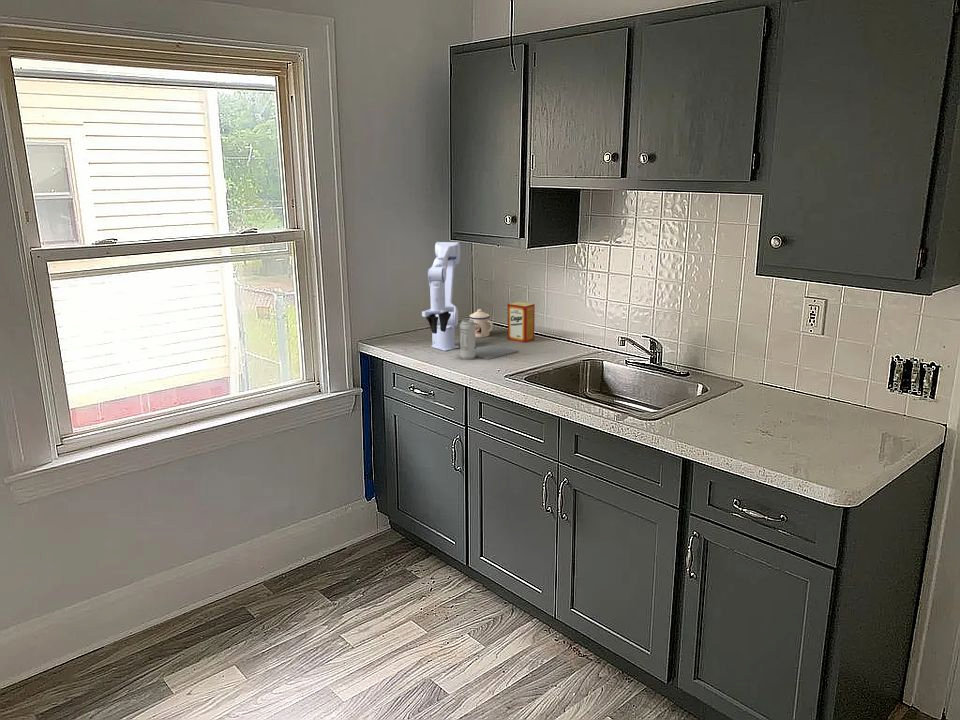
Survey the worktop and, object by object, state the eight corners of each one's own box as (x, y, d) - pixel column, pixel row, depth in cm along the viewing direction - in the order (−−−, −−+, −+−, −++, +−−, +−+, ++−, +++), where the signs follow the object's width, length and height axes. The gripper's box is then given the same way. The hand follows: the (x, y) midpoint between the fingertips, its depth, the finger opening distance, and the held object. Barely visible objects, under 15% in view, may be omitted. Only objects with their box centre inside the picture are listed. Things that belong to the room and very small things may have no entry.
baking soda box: (507, 339, 321) (507, 303, 316) (516, 336, 326) (516, 300, 321) (525, 342, 315) (525, 305, 311) (534, 339, 320) (534, 303, 315)
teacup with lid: (465, 335, 328) (464, 309, 325) (478, 331, 335) (478, 306, 332) (486, 339, 321) (486, 313, 318) (499, 335, 327) (499, 309, 324)
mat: (462, 352, 300) (462, 351, 300) (492, 345, 311) (492, 344, 311) (487, 359, 289) (487, 358, 289) (518, 351, 300) (518, 350, 300)
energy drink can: (478, 358, 291) (477, 321, 287) (465, 360, 289) (464, 323, 285) (470, 355, 296) (470, 318, 292) (457, 357, 294) (456, 320, 290)
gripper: (429, 301, 279) (430, 337, 283) (458, 296, 288) (459, 330, 292) (418, 299, 284) (419, 333, 288) (447, 294, 293) (447, 327, 297)
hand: (438, 332), depth 290 cm, fingers open, 4 cm apart
